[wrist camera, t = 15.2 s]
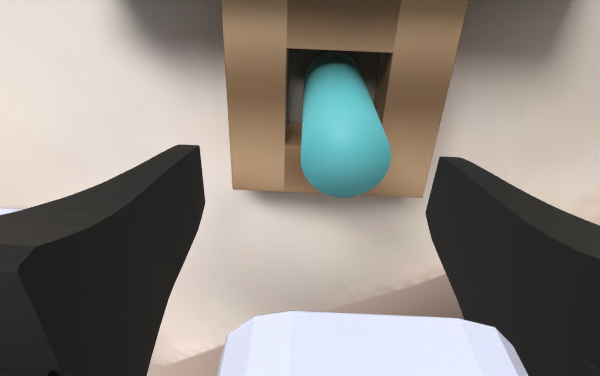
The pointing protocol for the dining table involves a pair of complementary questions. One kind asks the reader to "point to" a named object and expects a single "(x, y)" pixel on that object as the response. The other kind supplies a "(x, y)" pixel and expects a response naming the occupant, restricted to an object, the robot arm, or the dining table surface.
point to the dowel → (341, 129)
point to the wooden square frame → (347, 37)
